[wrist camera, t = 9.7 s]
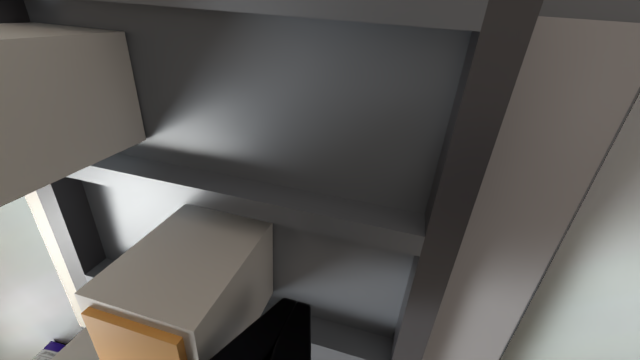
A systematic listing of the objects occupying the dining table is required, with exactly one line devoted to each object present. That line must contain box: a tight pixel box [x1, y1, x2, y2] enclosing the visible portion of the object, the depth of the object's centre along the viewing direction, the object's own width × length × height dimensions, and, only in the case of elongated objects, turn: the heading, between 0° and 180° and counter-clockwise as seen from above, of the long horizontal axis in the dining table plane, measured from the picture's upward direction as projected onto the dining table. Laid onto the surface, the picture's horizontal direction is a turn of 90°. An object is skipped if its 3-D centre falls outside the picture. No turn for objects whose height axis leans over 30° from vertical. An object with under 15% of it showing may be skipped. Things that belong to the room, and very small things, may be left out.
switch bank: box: [0, 0, 640, 360], centre depth 11 cm, size 18×16×2 cm
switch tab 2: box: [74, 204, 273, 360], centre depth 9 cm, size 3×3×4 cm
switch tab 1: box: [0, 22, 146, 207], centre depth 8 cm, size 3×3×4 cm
